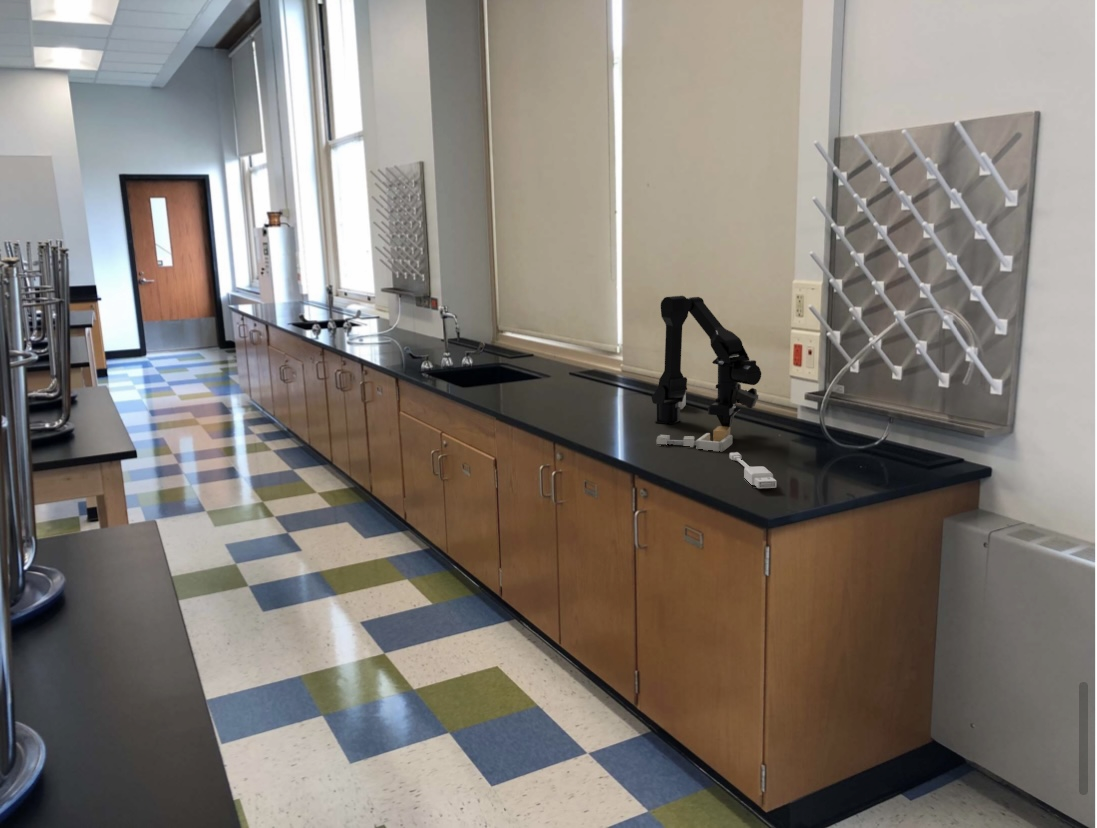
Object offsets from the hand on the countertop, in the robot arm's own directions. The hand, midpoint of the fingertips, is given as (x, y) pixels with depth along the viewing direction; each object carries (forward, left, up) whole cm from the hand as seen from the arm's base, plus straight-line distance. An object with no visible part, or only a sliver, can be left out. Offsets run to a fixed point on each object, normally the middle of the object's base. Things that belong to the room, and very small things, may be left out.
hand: (727, 433), depth 250 cm
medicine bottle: (-29, +35, -1) cm, 45 cm away
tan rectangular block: (0, -5, -1) cm, 5 cm away
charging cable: (+16, -34, -2) cm, 38 cm away
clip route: (-10, -14, -1) cm, 18 cm away
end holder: (0, -12, -1) cm, 12 cm away
